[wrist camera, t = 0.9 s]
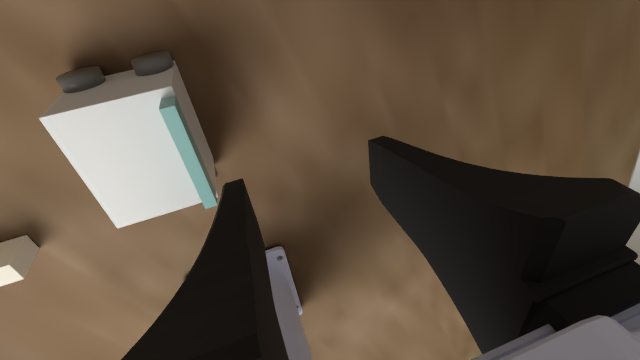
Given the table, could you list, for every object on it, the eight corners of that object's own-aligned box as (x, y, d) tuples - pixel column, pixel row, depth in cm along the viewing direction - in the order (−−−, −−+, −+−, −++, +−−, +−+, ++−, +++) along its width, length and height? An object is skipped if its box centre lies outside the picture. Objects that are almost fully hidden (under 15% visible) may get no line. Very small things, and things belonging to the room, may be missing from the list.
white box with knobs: (216, 164, 21) (224, 220, 16) (134, 188, 20) (119, 253, 16) (169, 48, 17) (163, 80, 12) (63, 71, 16) (15, 115, 11)
